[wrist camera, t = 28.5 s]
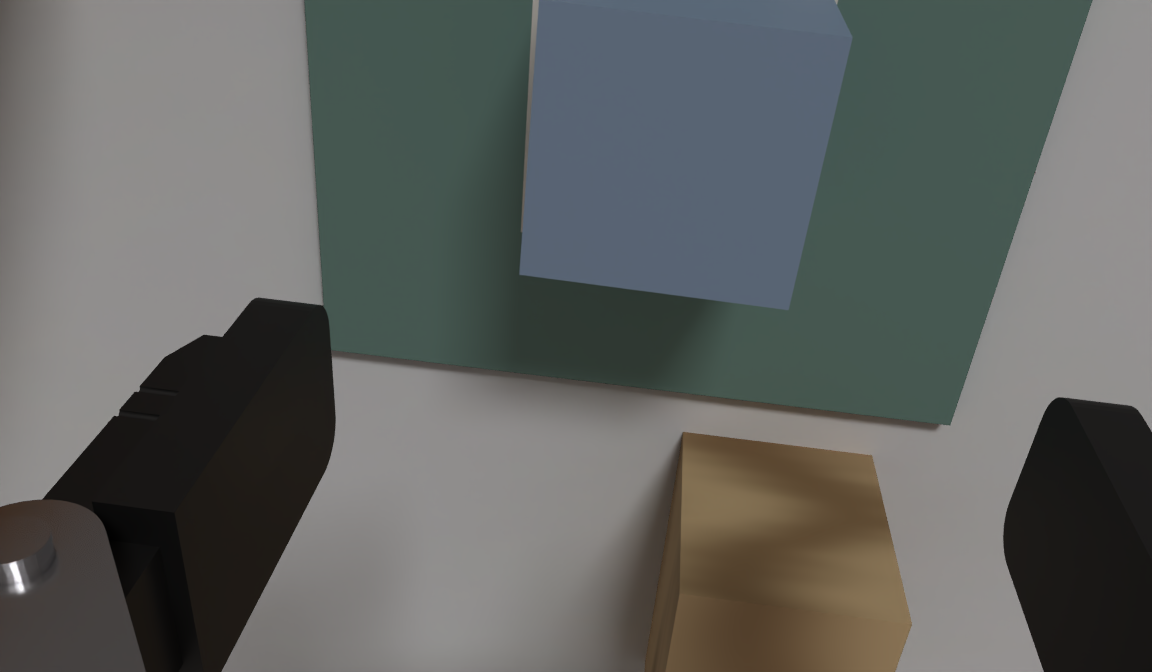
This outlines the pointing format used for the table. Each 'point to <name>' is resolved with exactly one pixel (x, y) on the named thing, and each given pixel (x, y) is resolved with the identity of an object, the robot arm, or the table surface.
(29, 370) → the table surface
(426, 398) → the table surface
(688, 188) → the blue cube
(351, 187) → the letter board
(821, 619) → the block
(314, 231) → the table surface
